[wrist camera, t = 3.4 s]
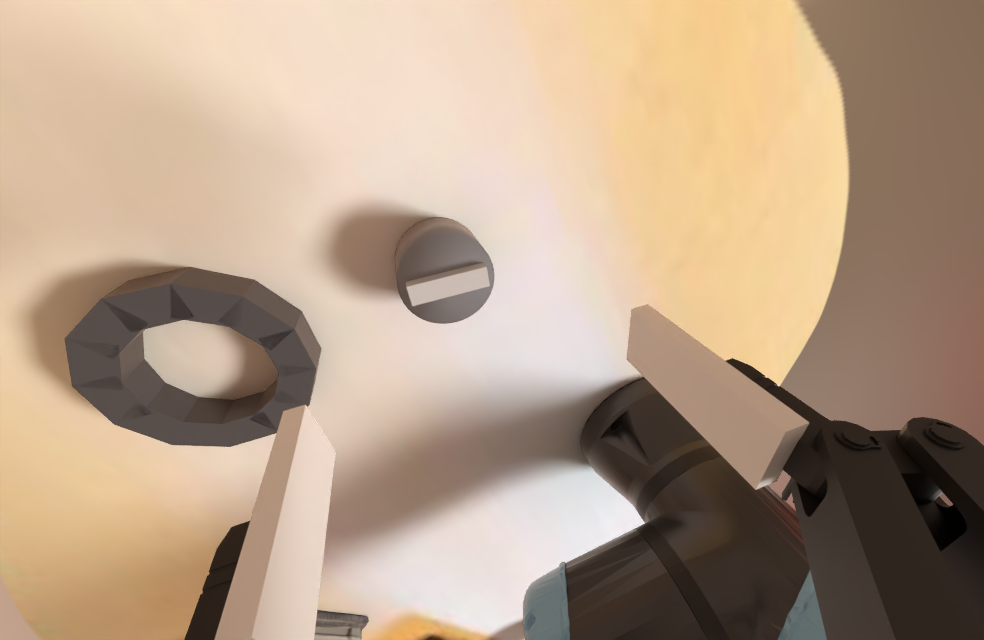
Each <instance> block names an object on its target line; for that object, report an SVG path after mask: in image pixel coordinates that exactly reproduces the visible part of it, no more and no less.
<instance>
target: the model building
mask: <svg viewBox="0 0 984 640" xmlns="http://www.w3.org/2000/svg"><path fill="white" fill-rule="evenodd" d="M368 621H369V620H368V617H365V616H358V615H357V616H355V615H350V614H341V613H332V612H326V611H318V610H317V618H316V626H315V635H314V640H362V636H361V633H362V629H363V628H364V627H365V626H366V625H367V623H368Z"/></svg>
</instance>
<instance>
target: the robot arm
mask: <svg viewBox="0 0 984 640" xmlns="http://www.w3.org/2000/svg"><path fill="white" fill-rule="evenodd" d="M627 360H628V361H629V362H630V363H631V364H632V365H633V366H634V367H635V368H636V369H637V370H638V371H639V372H640V373H641V374H642V375H643V376H644V377H645V379H642V380H639V381H636V382H634V383H632V384H629V385H627V386H626V387H624V388H622V389H620V390H619V391H617V392H616V393H614V394H613V395H612V396H610V397H609V398H608V399H607V400H605V401H604V402H603V403H602V404H601V405H600V406H599V407H598V408H597V409H596V411H595V412H594V413H593V414H592V416H591V417H590V418H589V420H588V422H587V423H586V425H585V428H584V430H583V433H582V437H581V448H582V452H583V454H584V455H585V457H586V459H587V460H588V462H589V464H590V465H591V467H592V468H593V469H594V471H595V472H596V473H597V474H598V475H600V476H601V477H602V478H603V479H604V480H605V481H606V482H607V483H609V484H610V485H611V486H612V487H613V488H614V489H616V490H617V491H618V492H619V493H620V494H621V495H622V496H624V497H625V498H626V499H627V500H628V501H629V502H630V503H631V504H632V505H633V506H634V507H635V509H636V510H637V511H638V513H639V515H640V516H641V518H642V519H643V521H644V522H645V524H643V525H641V526H639V527H637V528H635V529H633V530H631V531H629V532H627V533H625V534H623V535H621V536H619V537H617V538H615V539H613V540H611V541H609V542H607V543H605V544H603V545H601V546H599V547H597V548H595V549H593V550H591V551H589V552H587V553H585V554H583V555H581V556H579V557H577V558H575V559H573V560H571V561H569V562H567V563H565V562H561V564H560V565H559V567H558V568H556V569H554V570H553V571H551V572H549V573H547V574H546V575H544V576H542V577H540V578H539V579H537V580H535V581H534V582H533V583H532V584H531V585H530V586H529V587H528V589H527V591H526V594H525V597H524V602H523V625H524V634H525V640H984V446H983V445H982V444H981V443H980V442H979V441H978V440H977V439H975V438H973V437H972V436H971V435H970V434H968V433H967V432H966V431H964V430H962V429H960V428H958V427H956V426H954V425H952V424H949V423H946V422H943V421H940V420H937V419H931V418H925V417H921V418H913V419H911V420H910V421H908V422H907V424H906V425H905V426H904V427H903V428H902V430H891V431H869V430H867V429H865V428H863V427H861V426H859V425H857V424H853V423H849V422H846V421H835V420H834V421H830V420H828V419H827V418H825V417H824V416H822V415H820V414H819V413H817V412H816V411H815V410H813V409H812V408H811V407H809V406H808V405H806V404H805V403H803V402H802V401H801V400H799V399H797V398H796V397H795V396H793V395H792V394H790V393H789V392H788V391H786V390H785V389H783V388H782V387H780V386H779V387H778V386H777V384H776V383H775V382H773V381H772V380H770V379H769V378H766V377H765V375H763V374H762V373H760V372H759V371H757V370H756V369H754V368H753V367H752V366H750V365H748V364H745V363H743V362H740V361H738V360H735V359H733V358H732V359H730V360H727V361H725V360H723V359H722V358H720V357H719V356H718V355H716V354H715V353H714V352H712V351H711V350H710V349H708V348H707V347H705V346H704V345H703V344H701V343H700V342H699V341H697V340H696V339H694V338H693V337H692V336H690V335H689V334H688V333H686V332H685V331H684V330H682V329H681V328H679V327H678V326H677V325H675V324H674V323H673V322H671V321H670V320H668V319H667V318H666V317H664V316H663V315H662V314H660V313H659V312H658V311H656V310H655V309H653V308H652V307H651V306H649V305H644V306H641V307H637V308H634V309H632V311H631V320H630V330H629V340H628V350H627ZM335 453H336V451H335V450H334V448H333V447H332V445H331V443H330V442H329V440H328V439H327V437H326V436H325V434H324V432H323V431H322V429H321V428H320V426H319V425H318V423H317V421H316V420H315V418H314V417H313V415H312V414H311V412H310V410H309V409H308V407H307V406H306V405H303V406H299V407H296V408H292V409H289V410H286V411H283V414H282V417H281V421H280V424H279V427H278V431H277V434H276V437H275V441H274V444H273V447H272V451H271V454H270V457H269V461H268V464H267V467H266V470H265V474H264V477H263V480H262V484H261V487H260V490H259V494H258V497H257V500H256V504H255V507H254V510H253V514H252V517H251V520H250V521H248V522H245V523H242V524H239V525H236V526H234V527H231V529H230V530H229V532H228V533H227V535H226V536H225V538H224V539H223V541H222V542H221V544H220V545H219V547H218V548H217V550H216V553H215V556H214V559H213V561H212V564H211V567H210V570H209V572H210V574H209V575H208V576H207V578H206V581H205V584H204V587H203V589H202V590H203V594H201V595H200V598H199V601H198V603H197V606H196V609H195V612H194V615H193V617H192V620H191V623H190V626H189V629H188V631H187V634H186V637H185V640H314V635H315V626H316V618H317V609H318V600H319V592H320V583H321V574H322V566H323V557H324V548H325V540H326V531H327V522H328V514H329V505H330V496H331V488H332V479H333V470H334V462H335ZM782 470H784V471H785V472H786V473H788V474H789V475H790V476H791V477H792V478H791V479H790V481H789V483H788V484H787V486H786V488H785V489H784V491H783V493H782V497H781V496H780V495H779V494H778V493H776V492H775V491H774V490H773V489H772V488H771V487H770V486H769V484H771V483H773V482H776V481H777V479H778V478H779V476H780V474H781V472H782ZM791 492H792V496H793V503H794V504H795V508H796V510H795V509H793V508H792V507H791V506H790V505H789V504H788V503H787V502H786V500H787V499H788V497H789V496H790V494H791ZM942 493H944V494H945V495H946V496H947V497H948V498H949V500H950V501H951V502H952V503H953V505H952V506H948V505H947V504H946V503H945V502H944V501H943V500H942V499H941V498H940V497H939V496H940V495H941V494H942Z"/></svg>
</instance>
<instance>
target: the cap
mask: <svg viewBox="0 0 984 640" xmlns="http://www.w3.org/2000/svg"><path fill="white" fill-rule="evenodd" d="M395 266H396V276H397V285H398V291H399V294H400V297H401V299H402V301H403V303H404V304H405V305H406V307H407V308H408V309H409V310H410V311H411V312H412V313H413V314H415V315H416V316H418V317H419V318H421V319H423V320H426V321H429V322H433V323H453V322H458V321H461V320H463V319H465V318H468V317H469V316H471V315H473V314H474V313H475V312H477V311H478V310H479V309H480V308H481V307H482V306H483V305H484V303H485V302H486V301H487V299H488V298H489V295H490V293H491V291H492V288H493V283H494V269H493V264H492V262H491V259H490V257H489V255H488V254H487V252H486V251H485V250H484V248H483V247H482V246H481V244H480V243H479V242H478V241H477V239H476V238H475V237H474V235H473V234H472V233H471V232H470V231H469V230H468V229H467V228H466V227H465V226H464V225H462V224H461V223H459V222H457V221H454V220H452V219H448V218H429V219H426V220H423V221H420V222H418V223H416V224H415V225H413V226H412V227H410V228H409V229H408V230H407V231H406V232H405V233H404V234H403V236H402V237H401V239H400V241H399V243H398V245H397V248H396V253H395Z"/></svg>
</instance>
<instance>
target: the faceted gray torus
mask: <svg viewBox="0 0 984 640" xmlns="http://www.w3.org/2000/svg"><path fill="white" fill-rule="evenodd" d="M180 320H189V321H196V322H202V323H209V324H216V325H223V326H229V327H230V328H232V329H234V330H236V331H238V332H239V333H241V334H243V335H245V336H246V337H248V338H250V339H252V340H253V341H255V342H257V343H259V344H260V345H262V346H263V347H264V348H265V350H266V352H267V353H268V355H269V356H270V358H271V359H272V361H273V363H274V364H275V366H276V367H277V369H278V370H279V374H278V380H277V381H276V382H274V383H273V384H272V385H271V386H270V387H269V388H268V389H267V390H266V391H265V392H262V393H259V394H255V395H251V396H248V397H244V398H241V399H237V400H223V399H210V398H198V397H196V396H194V395H192V394H189V393H187V392H185V391H182V390H180V389H178V388H176V387H173V386H171V385H169V384H166V383H165V382H164V381H163V380H162V379H161V378H160V376H159V375H158V374H157V373H156V372H155V371H154V370H153V369H152V367H151V366H150V365H149V364H148V363H147V362H146V361H145V360H144V347H143V331H144V330H145V329H147V328H151V327H155V326H160V325H164V324H168V323H172V322H176V321H180ZM65 344H66V350H67V356H68V363H69V369H70V375H71V381H72V386H73V387H74V388H75V389H76V390H77V391H78V392H79V393H80V394H81V395H82V396H84V397H85V398H86V399H87V400H88V401H89V402H90V403H91V404H92V405H93V406H95V407H96V408H97V409H98V410H99V411H100V412H101V413H102V414H103V415H104V416H106V417H107V418H108V419H109V420H110V421H111V422H112V423H113V424H115V425H117V426H120V427H123V428H126V429H129V430H132V431H134V432H137V433H140V434H143V435H146V436H149V437H151V438H154V439H157V440H160V441H163V442H166V443H168V444H171V445H192V446H223V447H231V446H235V445H238V444H241V443H245V442H248V441H252V440H255V439H258V438H262V437H265V436H268V435H272V434H275V433H277V431H278V427H279V424H280V421H281V417H282V414H283V411H286V410H289V409H292V408H296V407H299V406H303V405H306V406H307V407H308V406H309V405H310V400H311V396H312V392H313V388H314V384H315V379H316V373H317V368H318V363H319V358H320V353H321V347H320V345H319V344H318V342H317V340H316V338H315V336H314V334H313V332H312V330H311V328H310V326H309V324H308V323H307V321H306V319H305V317H304V315H303V313H302V311H300V310H299V309H297V308H296V307H294V306H293V305H291V304H290V303H288V302H287V301H285V300H284V299H282V298H281V297H279V296H278V295H276V294H275V293H273V292H272V291H270V290H269V289H267V288H266V287H264V286H263V285H261V284H260V283H258V282H257V281H255V280H252V279H247V278H242V277H237V276H232V275H227V274H222V273H217V272H212V271H207V270H202V269H196V268H191V267H189V268H184V269H180V270H175V271H170V272H166V273H161V274H157V275H152V276H148V277H143V278H139V279H134V280H130V281H127V282H126V283H124V284H123V285H121V286H120V287H118V288H117V289H115V290H114V291H112V292H111V293H109V294H108V295H106V296H105V297H103V298H102V299H101V300H100V301H99V302H98V303H97V304H96V305H95V306H94V307H93V309H92V310H91V311H90V312H89V313H88V314H87V315H86V316H85V317H84V318H83V319H82V321H81V322H80V323H79V324H78V325H77V326H76V327H75V328H74V329H73V330H72V331H71V333H70V334H69V335H68V336H67V337H66V338H65Z"/></svg>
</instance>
